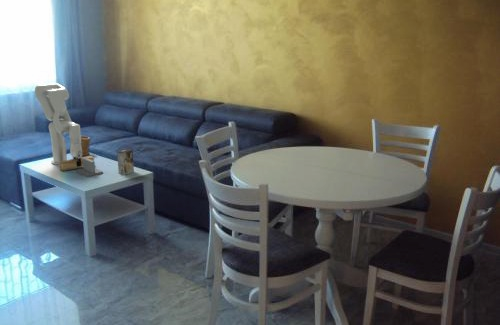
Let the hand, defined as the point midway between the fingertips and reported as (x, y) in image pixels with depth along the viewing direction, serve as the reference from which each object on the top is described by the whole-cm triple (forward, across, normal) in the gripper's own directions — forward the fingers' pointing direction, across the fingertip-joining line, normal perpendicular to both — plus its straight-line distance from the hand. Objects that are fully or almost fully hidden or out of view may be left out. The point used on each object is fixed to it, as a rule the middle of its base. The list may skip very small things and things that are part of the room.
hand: (77, 165), depth 347 cm
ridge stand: (+2, +18, 0) cm, 18 cm away
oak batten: (+2, 0, 0) cm, 2 cm away
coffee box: (+1, +35, +19) cm, 40 cm away
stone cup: (+3, -32, +20) cm, 38 cm away
